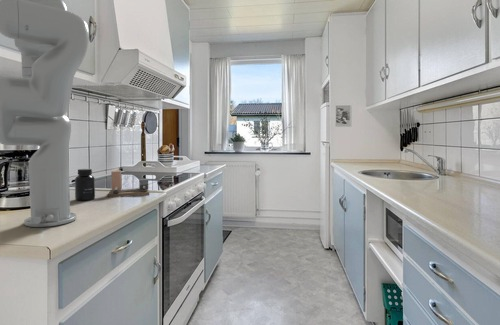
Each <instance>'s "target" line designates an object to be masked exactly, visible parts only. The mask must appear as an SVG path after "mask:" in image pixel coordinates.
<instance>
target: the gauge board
mask: <svg viewBox="0 0 500 325" xmlns="http://www.w3.org/2000/svg"><path fill="white" fill-rule="evenodd" d="M138 181H139V182H138V186H139V187H138V188H135V187H134V188H121V190H112V189H109V190H108V193H107V194H108V195H107V196H108V198H116V197H118V198H119V196H121V197H136V196H150V189H149V179H148V178H139V180H138Z"/></svg>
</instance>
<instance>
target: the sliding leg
mask: <svg viewBox="0 0 500 325" xmlns="http://www.w3.org/2000/svg"><path fill="white" fill-rule="evenodd" d="M110 177H111V190H121V189H122V170H111V176H110Z"/></svg>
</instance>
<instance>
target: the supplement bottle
mask: <svg viewBox="0 0 500 325" xmlns="http://www.w3.org/2000/svg"><path fill="white" fill-rule="evenodd" d="M95 183H96V179H95V177H94V176H93V170H92V169H91V168H79V169H77V175H76V176H75V178H74V199H75V201H77V202H87V201H93V200H95V197H96V187H95V186H96V184H95Z"/></svg>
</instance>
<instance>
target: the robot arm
mask: <svg viewBox="0 0 500 325" xmlns="http://www.w3.org/2000/svg"><path fill="white" fill-rule="evenodd" d="M89 31H90V30H89V26H88V23H87V22H86V21H85V20H84V19H83V18H82V17H81V16H79V15H78V14H76V13H73V12H71V11H68V9H67V6H66V3H65V2H64V1H63V0H0V34H1V35H3V36H4V37H6V38H8V39H9V38H10V39H12V40H14V41H13V42H14V46H15V47H16V48H17V49H18V51H19V52H20V54H21V55H20V56H21V57H20V58H21V76H8V75H7V76H6V75H4V76H0V144H1V145H4V146H36V147H39V148H38V149H37V150H36V151H35V152H34V153H33V154H32V155H31V156H30V158H29V161H28V178H29V182H28V183H29V204H30V206H29V207H30V217H27V218H25V219H24V222H23V223H24V225H25V226H26V227H31V228H45V227H53V226H54V227H56V226H60V225H65V224H69V223H72V222H74V221H75V220H77V214H76V213H74V212H71V196H70V195H71V194H70V191H71V190H70V169H69V168H70V165H69V164H70V163H69V160H70V159H69V157H70V156H69V155H70V154H69V150H70V149H69V148H70V140H71V132H72V124H71V120H70V118H69V117H68V116H66V114H67V112H68V110H69V107H70V101H71V95H72V89H73V83H74V77H75V75H76V73H77V71H78V69H79V68H80V66H81V64H82V62H83V61H84V59H85V56H86V55H87V54H86V53H87V51H88V47H89V38H90V33H89Z"/></svg>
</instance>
